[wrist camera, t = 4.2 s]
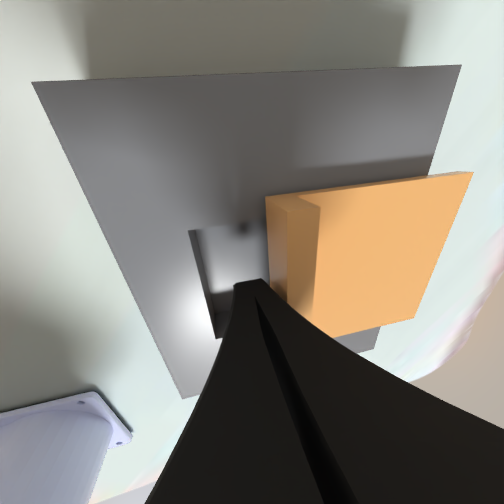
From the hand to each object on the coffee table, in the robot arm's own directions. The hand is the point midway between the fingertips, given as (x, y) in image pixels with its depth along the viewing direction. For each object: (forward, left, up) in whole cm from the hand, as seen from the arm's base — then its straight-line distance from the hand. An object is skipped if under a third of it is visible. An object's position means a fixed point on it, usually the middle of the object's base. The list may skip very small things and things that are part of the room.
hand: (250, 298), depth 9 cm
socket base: (+2, 0, -4) cm, 4 cm away
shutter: (+6, 0, -1) cm, 6 cm away
